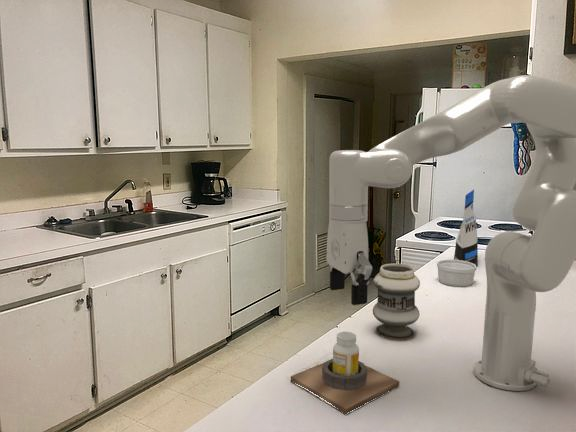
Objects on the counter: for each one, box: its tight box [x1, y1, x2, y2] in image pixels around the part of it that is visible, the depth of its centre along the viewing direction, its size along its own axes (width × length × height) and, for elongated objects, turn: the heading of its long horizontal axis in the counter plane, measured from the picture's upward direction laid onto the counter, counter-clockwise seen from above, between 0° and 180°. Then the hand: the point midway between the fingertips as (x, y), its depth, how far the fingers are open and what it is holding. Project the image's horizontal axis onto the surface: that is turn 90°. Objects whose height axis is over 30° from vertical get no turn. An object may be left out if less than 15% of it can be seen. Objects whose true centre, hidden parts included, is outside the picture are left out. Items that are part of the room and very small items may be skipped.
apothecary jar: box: [372, 263, 421, 341], centre depth 124 cm, size 12×12×18 cm
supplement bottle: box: [332, 331, 360, 376], centre depth 98 cm, size 5×5×10 cm
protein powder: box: [453, 189, 479, 268], centre depth 192 cm, size 10×24×30 cm, turn 152°
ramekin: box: [436, 259, 477, 288], centre depth 169 cm, size 13×13×7 cm
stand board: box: [290, 358, 400, 415], centre depth 99 cm, size 16×16×4 cm
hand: (347, 296), depth 96 cm, fingers open, 9 cm apart
